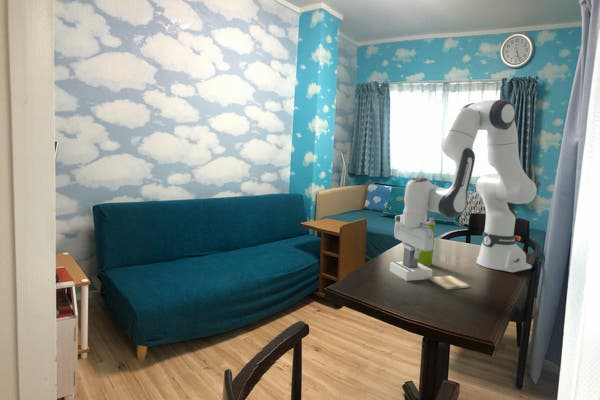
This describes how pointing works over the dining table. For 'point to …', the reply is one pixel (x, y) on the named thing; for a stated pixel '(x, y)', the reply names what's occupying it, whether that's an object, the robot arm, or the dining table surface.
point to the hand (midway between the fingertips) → (411, 256)
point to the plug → (409, 257)
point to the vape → (426, 256)
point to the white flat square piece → (410, 271)
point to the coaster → (449, 282)
